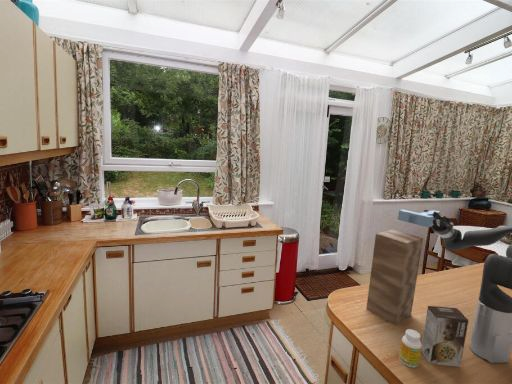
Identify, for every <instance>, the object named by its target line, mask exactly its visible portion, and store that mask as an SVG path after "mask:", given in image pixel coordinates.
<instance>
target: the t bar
mask: <svg viewBox="0 0 512 384" xmlns="http://www.w3.org/2000/svg"><path fill="white" fill-rule="evenodd" d="M434 211H435V212H437V213H438V214H439V215H441V211H438V210H434V209H433V210H428V211H427V212H424V211H422V212H416V211H411V210H406V209H399V210H398V216H397V217H398V218H397V220H398V221H402V222H406V223H410V224H414V225H417V226H421V227H425V228H431V226H432V223H433V220H435V218H434V217H433V213H434Z"/></svg>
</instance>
